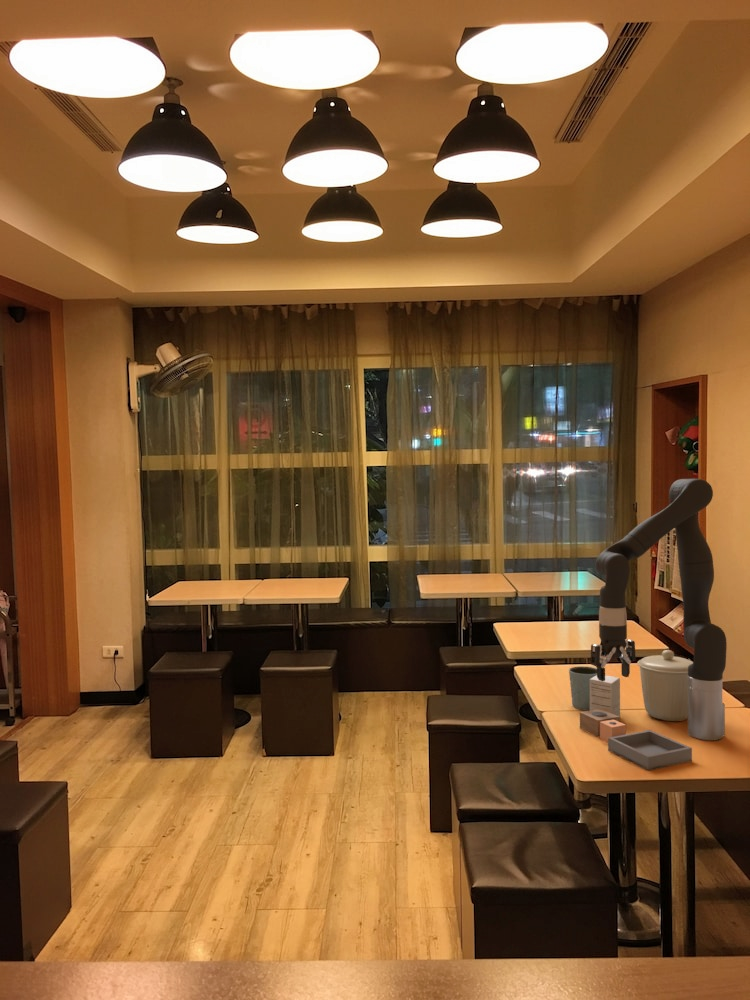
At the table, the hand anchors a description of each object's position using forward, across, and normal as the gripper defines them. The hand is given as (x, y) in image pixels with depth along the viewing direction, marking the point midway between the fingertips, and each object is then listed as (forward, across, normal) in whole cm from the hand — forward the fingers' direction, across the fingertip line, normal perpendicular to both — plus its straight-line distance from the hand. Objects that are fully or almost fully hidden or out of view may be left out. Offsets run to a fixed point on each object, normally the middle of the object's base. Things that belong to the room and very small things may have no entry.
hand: (613, 678), depth 202 cm
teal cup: (+18, -13, -29) cm, 37 cm away
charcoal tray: (+18, -1, +12) cm, 22 cm away
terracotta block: (+18, 0, -1) cm, 18 cm away
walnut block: (+18, -2, -9) cm, 20 cm away
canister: (+19, -30, -10) cm, 37 cm away
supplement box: (+18, -11, -17) cm, 27 cm away
